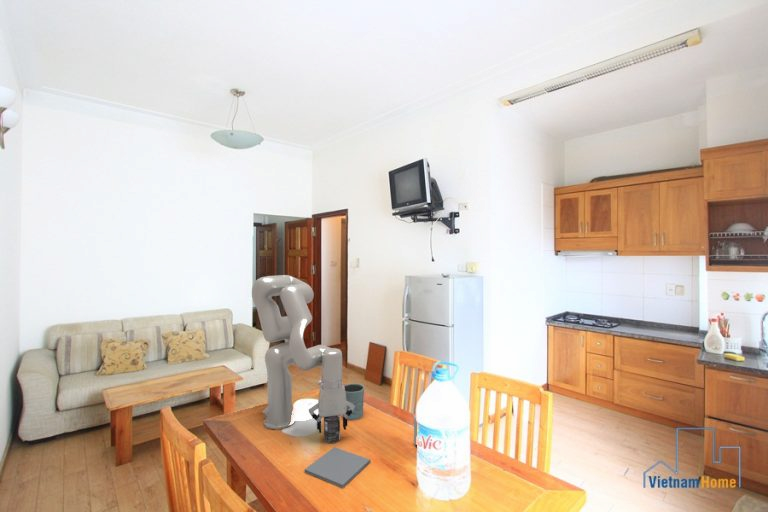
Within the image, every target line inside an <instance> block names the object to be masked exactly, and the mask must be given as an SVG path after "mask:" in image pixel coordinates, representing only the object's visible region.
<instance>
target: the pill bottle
mask: <svg viewBox="0 0 768 512" xmlns="http://www.w3.org/2000/svg"><path fill="white" fill-rule="evenodd" d="M323 440H324V443H326V444H327V443H328V444H334V443H335V444H336V443H339V441H340V440H341V415H338V416H329V417H323Z"/></svg>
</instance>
